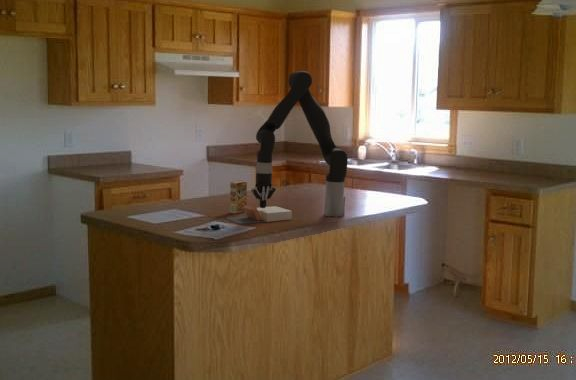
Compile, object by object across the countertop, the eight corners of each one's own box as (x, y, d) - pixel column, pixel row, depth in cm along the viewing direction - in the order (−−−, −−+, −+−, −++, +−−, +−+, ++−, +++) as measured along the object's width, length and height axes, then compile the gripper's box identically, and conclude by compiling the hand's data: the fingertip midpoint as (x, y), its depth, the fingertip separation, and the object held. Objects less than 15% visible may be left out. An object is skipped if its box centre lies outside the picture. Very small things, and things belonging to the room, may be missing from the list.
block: (246, 204, 324) (242, 207, 323) (256, 207, 317) (253, 210, 316) (251, 214, 327) (248, 217, 326) (261, 218, 319) (258, 220, 319)
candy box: (236, 214, 335) (236, 183, 332) (229, 212, 337) (230, 182, 335) (247, 211, 342) (247, 181, 340) (240, 210, 344) (241, 180, 342)
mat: (250, 216, 329) (250, 215, 329) (266, 221, 318) (266, 221, 318) (225, 218, 321) (225, 218, 321) (240, 224, 310) (240, 223, 310)
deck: (275, 214, 338) (275, 206, 337) (291, 219, 327) (291, 211, 326) (251, 216, 330) (251, 208, 329) (267, 221, 319) (267, 213, 318)
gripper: (271, 170, 329) (269, 205, 331) (248, 171, 321) (246, 207, 324) (280, 172, 323) (278, 208, 325) (256, 173, 315) (255, 210, 318)
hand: (262, 207), depth 325 cm, fingers closed
